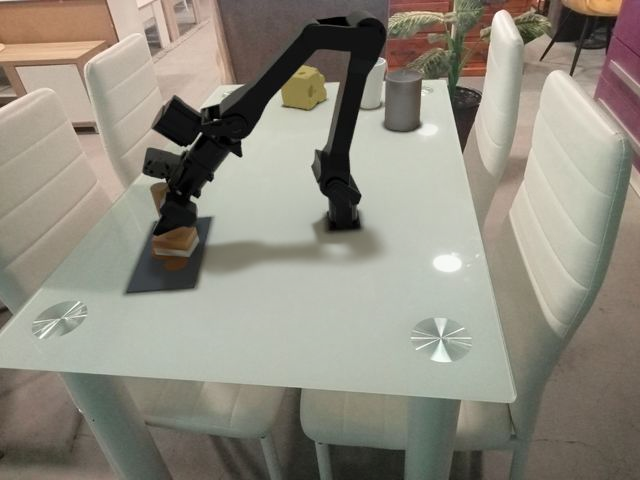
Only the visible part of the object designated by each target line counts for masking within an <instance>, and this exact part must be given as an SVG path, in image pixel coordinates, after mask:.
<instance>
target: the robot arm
mask: <svg viewBox="0 0 640 480" xmlns="http://www.w3.org/2000/svg"><path fill="white" fill-rule="evenodd" d="M387 36H388V32H387V29H386V27H385V25H384V23H383V22H382V21H380V20H379V19H378V18H377V17H376V16H374V15H373V14H372V13H370V12H369V11H367V10H365V9H357V10H354V11H351V12H350V13H349V14H348V15H333V16H327V17H322V18H314V17H313V18H312V17H309V18H305V19H303V20H302V21H301V22H300V23H299V25H298V27H297V29H295V31H294V32H293V33H292V34H291V36H289V38H288V39H287V40H286V41H285V42H284V43H283V44H282V45H281V46H280V48H279V49H278V50H277V51H276V52H275V53H274V55H272V57H271V58H269V60H268V61H267V62H266V63H265V64H264V66H262V67H261V68H260V70H259V71H258V72H257V73H256V74H255V76H254V77H252V78H251V80H249V81H248V82H246V83H245V84H243V85H241V86H238V87H237V88H236V89H234V90H233V91H232V92H231V93H229V94H228V95H227V96H225V97H224V98H223V99H222V100H221V101H220V103H216V104H212V105H209V106H206V107H202V108H200V109H199V110H200V112H199V111H198V110H196V109H195V108H194V107H192V106H191V105H189V104H188V103H187V102H185V101H184V100H183V99H182V98H181V97H180V96H178V95H176V94H173V95H172V96H171V97H170V99H169V100H167V102H166V103H165V104H162V106H161V107H160V109H159V110H158V112H157V114H156V115H155V117H154V119H153V120H152V123H151V125H150V129H151V130H152V131H154V132H155V133H157V134H158V135H161V136H162V137H164V138H166V139H167V140H169V141H170V142H172V143H174V144H175V145H177V146H178V147H180V148H182V147H184V148H187V147H188V146H191V145H192V146H191V147H190V149H185V150H182V152H181V153H180V154H178V153H173V152H171V151H167V150H164V149H159V148H156V147H147V148H146V150H145V155H144V159H143V164H142V168H141V169H142V170H141V173H142V174H143V175H145V176H147V177H150V178H154V179H159V180H164V179H165V183H167V184H168V186H169V190H170V192H166V193H165V195H164V196H163V198H162V200H161V201H160V203H159V212H160V213H161V216H160V218H158V220H157V221H158V222H157V224H156V226H155V228H154V230H153V233H152V234H153V235H155V236H160V235H162V234H165V233H167V232H169V231H172V230H174V229H177V228H180V227H183V226H185V227H188V228H192V226H193V225H194V224H195V223H196V221H197V220H198V218H199V209H198V206H197V203H196V202H194V201H192V200H191V197H194V198H195V199H197V200H199V199H200V197H201V196H202V190H203V188H204V187H205V185H206V184H207V183H208V182H209V183H212V182H213V181H214V180H215V173H216V171H217V170H218V169H219V168H220V167H221V165H222V164H223V162H224V161H225V160H226V159H227V157H228V156H229V155H230V153H231V154H233V155H235V156H236V157H238V158H240V159H241V158H243V154H244V153H243V148H242V144H243V142H242V140H245V139H246V138H248V137H249V136H250V135H251V134H252V132H253V131H254V129H255V127H256V126H257V124H258V123H259V122H260V120H261V118H262V115H263V114H264V112H265V109H266V107H267V105H268V104H269V103H270V101H271V100H272V99H273V98H274V97H275V95H277V93H278V92H279V91H281V88H282V87H283V86H284V85H285V84H286V82H287V81H288V80H289V79H290V78H291V77H292V76H293V75H294V74H295V73H296V72H297V71H298V70H299V68H300V67H301V66H302V65H305V64H306V62H307V61H308V60H309V59H310V58H311V57H312V56H313V55H314V54H315V52H316V51H317V50H319V51H320V50H328V51H336V52H341V60H342V61H341V62H342V69H341V70H342V71H341V74H340V77H339V78H340V79H339V84H338V89H337V94H336V98H335V103H334V107H333V112H332V118H331V122H330V127H329V131H328V137H327V141H326V144H325V145H324V147H323V148H322V150H321V149H317V148H315V149H314V157H313V158H314V159H313V162H312V164H311V166H310V168H311V171H312V173H313V176H314V179H315V182H316V183H317V185H318V188H319V191H320V193H321V194H322V195H323V196H324V197H326V198H327V203H328V211H326V218H327V228H328V231H343V230H355V229H356V230H357V229H361V227H362V226H361V225H362V223H361V219H360V215H359V209H358V205H359V204H360V202H361V200H362V196H363V195H362V192H361V191H360V189H359V187H358V185H357V184H356V181H355V179H354V177H353V175H352V173H351V160H350V159H351V157H350V152H351V147H352V144H353V138H354V135H355V130H356V126H357V121H358V117H359V113H360V110H361V107H360V106H361V101H362V97H363V93H364V89H365V85H366V80H367V77H368V75H369V73H370V72H371V70H372V69H373V67H374V66H375V64H376V63H377V61H378V59H379V57H380V58H381V55H382V52H383V50H384V47H385V45H386V43H387Z"/></svg>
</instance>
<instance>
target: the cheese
mask: <svg viewBox="0 0 640 480" xmlns="http://www.w3.org/2000/svg"><path fill="white" fill-rule="evenodd" d="M325 84H326V79H325V76H324V75H323V74H321V73H320V71H319V70H318V68H316V67H312V66H308V65H305V64H303V65H302V66H301V67H300V68H299V70H298V71H297V72H296V73H295V74H294V75H293V76H292V77H291V78H290V79H289V80H288V81H287V82H286V84H285V85H284V86H283V87H282V88H281V89H280V95H281V99H282V103H283V106H286V107H291V108H297V109H303V110H308V111H309V110H311V109H313V108H314V107H316V106H317V104H319V103H322V102H324V101H325V100H327V97H328V96H327V95H328V93H327V88H326V87H325Z"/></svg>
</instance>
